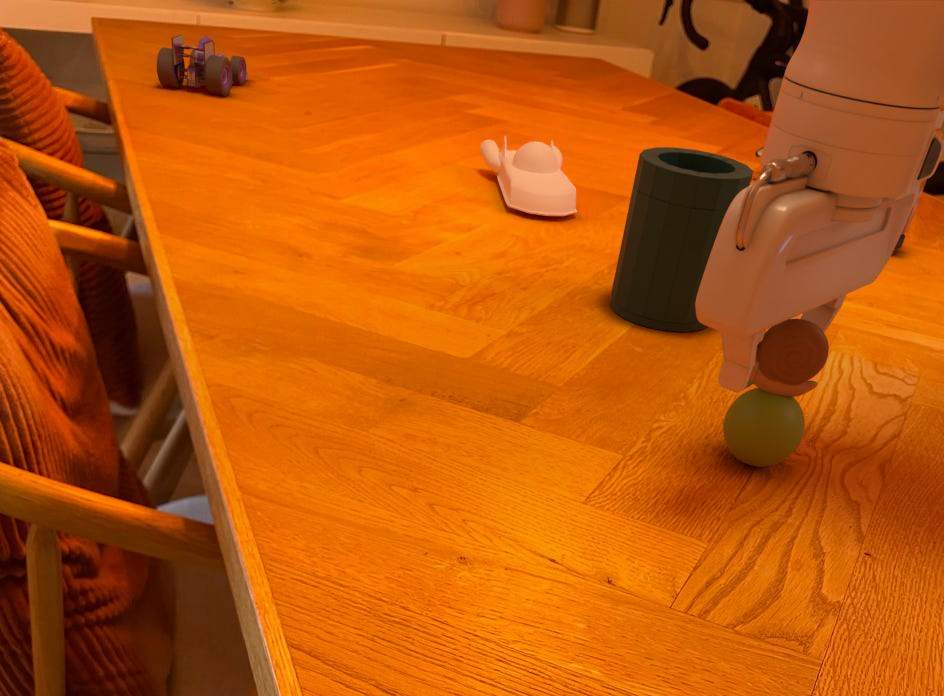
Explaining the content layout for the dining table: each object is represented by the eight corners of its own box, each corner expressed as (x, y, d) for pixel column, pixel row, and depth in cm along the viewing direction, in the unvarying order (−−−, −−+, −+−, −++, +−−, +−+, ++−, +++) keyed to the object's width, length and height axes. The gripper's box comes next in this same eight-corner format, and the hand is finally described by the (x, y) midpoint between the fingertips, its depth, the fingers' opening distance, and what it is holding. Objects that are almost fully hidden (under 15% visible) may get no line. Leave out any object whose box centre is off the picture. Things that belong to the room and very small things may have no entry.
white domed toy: (498, 217, 110) (505, 161, 106) (477, 169, 125) (482, 118, 122) (589, 224, 112) (599, 169, 108) (556, 176, 127) (564, 126, 123)
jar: (730, 318, 93) (772, 170, 85) (677, 340, 87) (716, 184, 79) (646, 286, 97) (678, 142, 89) (589, 305, 91) (618, 153, 83)
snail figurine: (701, 435, 73) (747, 271, 65) (788, 451, 72) (845, 288, 65) (699, 469, 69) (749, 297, 61) (792, 487, 68) (854, 316, 60)
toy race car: (257, 81, 152) (256, 32, 148) (221, 99, 140) (219, 46, 136) (197, 72, 152) (195, 23, 148) (157, 88, 141) (153, 35, 137)
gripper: (814, 180, 50) (733, 429, 58) (955, 145, 62) (872, 353, 71) (706, 147, 52) (645, 390, 61) (862, 120, 65) (793, 323, 74)
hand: (768, 369), depth 66 cm, fingers open, 8 cm apart
